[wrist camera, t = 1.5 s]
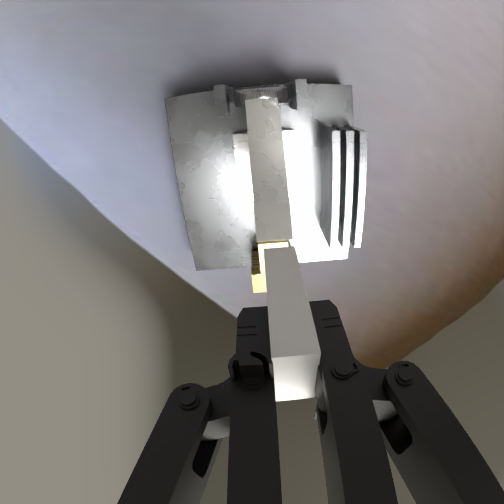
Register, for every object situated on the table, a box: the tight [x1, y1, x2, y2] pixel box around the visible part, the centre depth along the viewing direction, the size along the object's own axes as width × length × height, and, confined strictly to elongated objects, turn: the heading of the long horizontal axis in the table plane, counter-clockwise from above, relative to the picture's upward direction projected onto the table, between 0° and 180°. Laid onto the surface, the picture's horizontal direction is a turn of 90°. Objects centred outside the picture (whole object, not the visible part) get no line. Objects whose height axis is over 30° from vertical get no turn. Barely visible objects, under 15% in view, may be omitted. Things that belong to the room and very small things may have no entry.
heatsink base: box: [165, 79, 367, 271], centre depth 24 cm, size 18×16×7 cm
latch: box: [251, 240, 288, 293], centre depth 26 cm, size 5×4×4 cm
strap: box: [233, 87, 293, 242], centre depth 19 cm, size 12×4×1 cm
